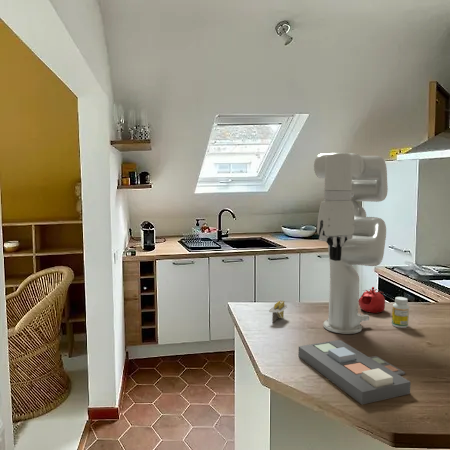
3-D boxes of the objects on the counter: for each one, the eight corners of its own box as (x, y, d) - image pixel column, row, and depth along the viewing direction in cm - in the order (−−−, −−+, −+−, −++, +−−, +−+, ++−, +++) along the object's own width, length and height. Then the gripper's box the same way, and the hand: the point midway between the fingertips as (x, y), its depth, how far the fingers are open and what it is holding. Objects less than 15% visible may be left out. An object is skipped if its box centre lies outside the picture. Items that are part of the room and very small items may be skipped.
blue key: (343, 356, 122) (343, 347, 122) (354, 363, 118) (355, 354, 117) (328, 359, 121) (328, 349, 120) (339, 366, 116) (339, 356, 116)
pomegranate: (379, 306, 174) (380, 283, 173) (389, 314, 164) (391, 290, 163) (354, 306, 174) (355, 283, 172) (363, 314, 164) (364, 290, 163)
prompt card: (376, 357, 126) (376, 355, 126) (405, 374, 116) (405, 371, 116) (362, 360, 124) (362, 357, 124) (389, 377, 114) (389, 374, 114)
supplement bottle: (405, 329, 149) (406, 301, 148) (389, 325, 152) (390, 298, 151) (410, 325, 153) (412, 298, 152) (394, 321, 156) (396, 295, 155)
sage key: (328, 351, 129) (328, 343, 129) (338, 358, 124) (339, 349, 124) (313, 354, 127) (314, 345, 127) (323, 361, 123) (324, 352, 122)
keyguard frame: (339, 349, 132) (339, 339, 131) (409, 393, 106) (410, 381, 105) (298, 356, 127) (298, 346, 126) (361, 404, 101) (362, 392, 100)
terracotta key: (359, 372, 116) (359, 362, 116) (372, 380, 112) (372, 370, 111) (343, 375, 114) (344, 365, 114) (355, 384, 110) (356, 373, 109)
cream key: (377, 378, 110) (378, 368, 109) (392, 387, 105) (393, 377, 105) (361, 382, 108) (361, 371, 107) (375, 391, 103) (375, 380, 103)
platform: (302, 316, 163) (303, 298, 162) (286, 331, 147) (286, 312, 146) (271, 311, 168) (272, 294, 167) (253, 326, 152) (253, 307, 151)
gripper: (351, 195, 132) (348, 255, 135) (307, 196, 127) (306, 259, 129) (367, 197, 125) (364, 260, 128) (322, 197, 120) (320, 264, 122)
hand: (335, 259), depth 129 cm, fingers closed
